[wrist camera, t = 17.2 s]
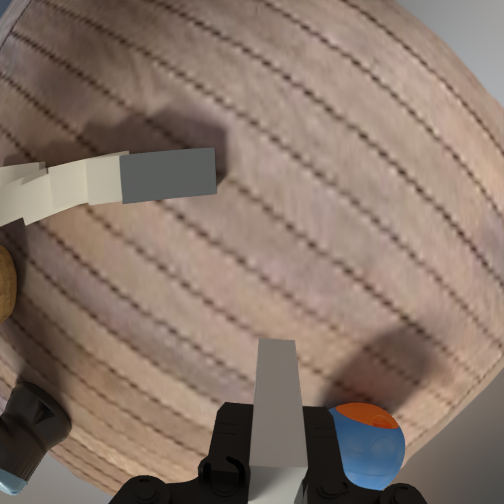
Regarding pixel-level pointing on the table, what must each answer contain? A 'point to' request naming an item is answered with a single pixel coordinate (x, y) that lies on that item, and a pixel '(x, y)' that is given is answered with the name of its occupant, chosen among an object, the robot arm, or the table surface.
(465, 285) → the table surface
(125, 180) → the domino
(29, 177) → the domino
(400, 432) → the treat dispenser ball
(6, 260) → the potato
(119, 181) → the domino
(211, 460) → the robot arm
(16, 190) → the domino
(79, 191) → the domino
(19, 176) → the domino
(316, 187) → the table surface
